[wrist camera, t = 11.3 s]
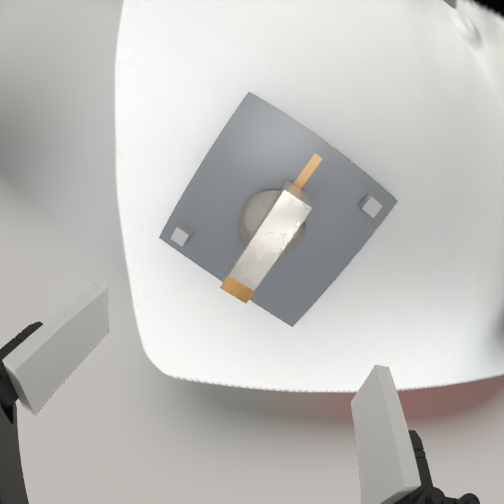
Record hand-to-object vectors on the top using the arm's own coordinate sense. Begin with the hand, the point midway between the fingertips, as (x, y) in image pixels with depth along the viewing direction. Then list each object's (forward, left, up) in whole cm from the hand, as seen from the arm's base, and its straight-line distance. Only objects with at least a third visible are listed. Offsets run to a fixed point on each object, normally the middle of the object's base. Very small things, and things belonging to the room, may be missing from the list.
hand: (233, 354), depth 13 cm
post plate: (0, 0, -29) cm, 29 cm away
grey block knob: (0, 0, -25) cm, 25 cm away
